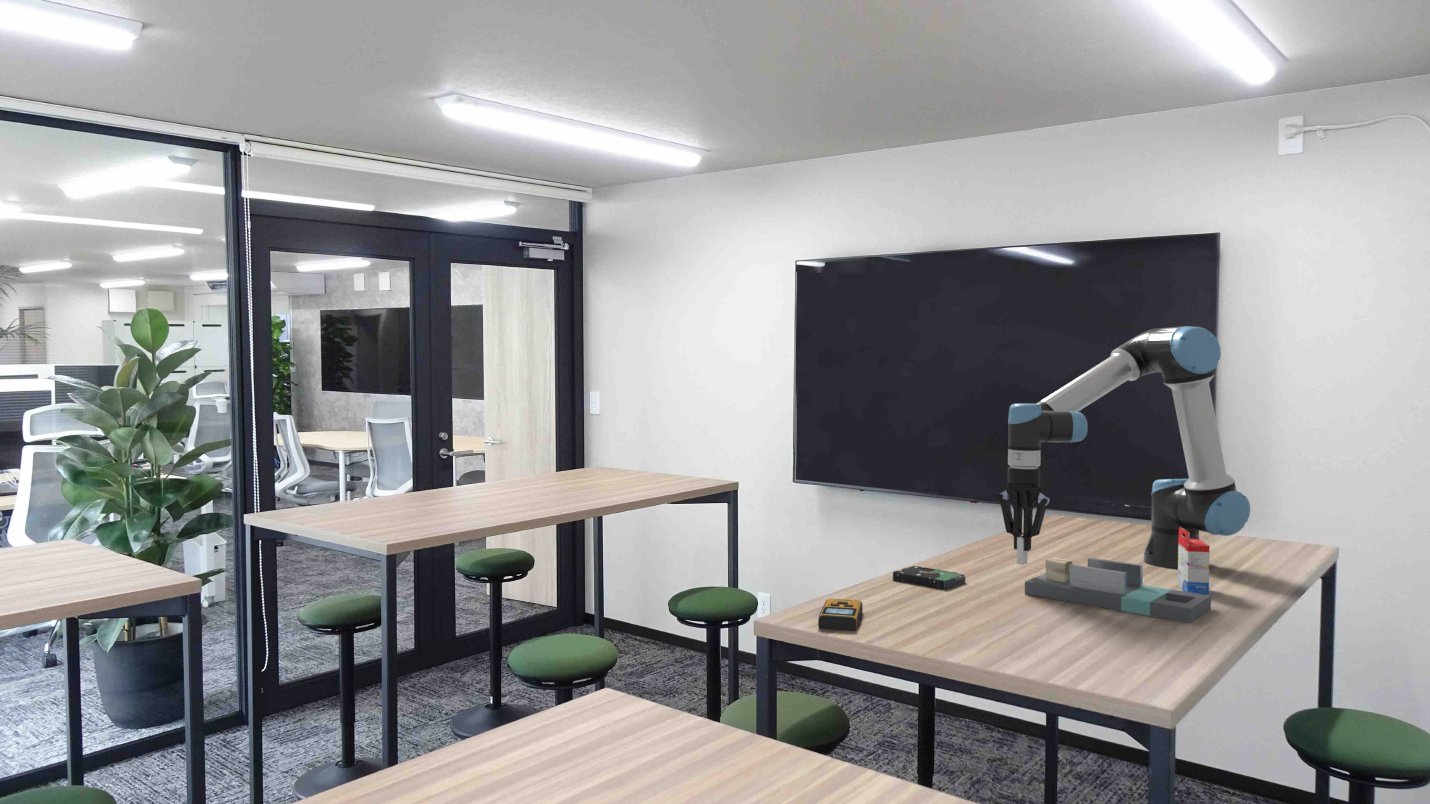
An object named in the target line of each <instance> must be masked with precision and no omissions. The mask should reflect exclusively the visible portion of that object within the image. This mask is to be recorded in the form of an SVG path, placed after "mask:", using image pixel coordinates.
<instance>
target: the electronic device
mask: <svg viewBox="0 0 1430 804" xmlns="http://www.w3.org/2000/svg"><path fill="white" fill-rule="evenodd" d="M863 606H864V605H863V601H862V600H860V599H848V598H847V599H844V598H827V599H826V600H825V602H824V604H823V606H822V609H821V610H820V613H819V615H818V622H817V623H818V624H817V626H818V629H819V630H830V631H831V630H832V631H833V630H834V631H845V632H847V631H849V632H856V630H857V627H858V626H859V624H860V621H861V619H862V615H863Z"/></svg>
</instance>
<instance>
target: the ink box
mask: <svg viewBox="0 0 1430 804" xmlns="http://www.w3.org/2000/svg"><path fill="white" fill-rule="evenodd" d="M1183 533H1184V534H1185V537H1184V536H1183ZM1189 538H1190V533H1189V532H1188V531H1186V530H1185V529H1183V528H1181V527H1180V528H1179V540H1178V568H1177V587H1178V588H1180V589H1181V591H1185V592H1191V593H1198V594H1204V595H1210V545H1209V544H1207V543H1205V542H1204V541H1202V540H1201V539H1200V540H1197V539H1189Z"/></svg>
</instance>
